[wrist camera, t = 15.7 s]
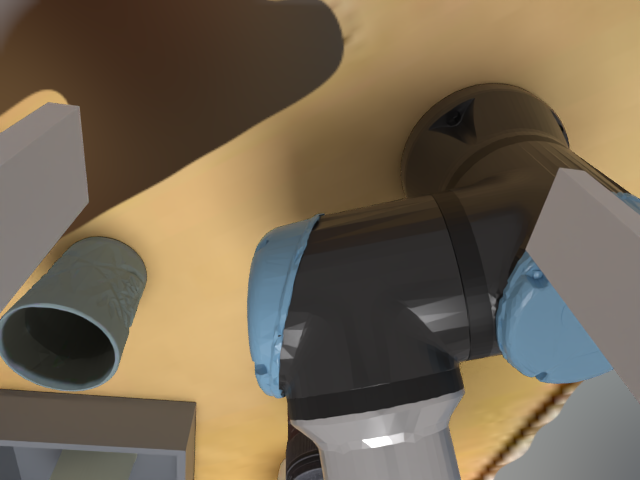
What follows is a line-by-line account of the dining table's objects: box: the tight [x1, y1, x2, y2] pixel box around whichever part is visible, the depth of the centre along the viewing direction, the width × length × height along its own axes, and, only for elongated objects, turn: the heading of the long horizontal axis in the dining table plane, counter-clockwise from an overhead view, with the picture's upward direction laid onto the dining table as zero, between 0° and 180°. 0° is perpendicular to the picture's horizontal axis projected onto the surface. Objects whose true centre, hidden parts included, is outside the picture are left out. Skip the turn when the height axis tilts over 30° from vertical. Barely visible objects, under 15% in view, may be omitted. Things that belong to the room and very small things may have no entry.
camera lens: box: [286, 410, 324, 480], centre depth 56 cm, size 8×8×15 cm
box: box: [0, 389, 196, 480], centre depth 64 cm, size 24×18×7 cm
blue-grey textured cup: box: [0, 237, 147, 391], centre depth 48 cm, size 10×10×12 cm
